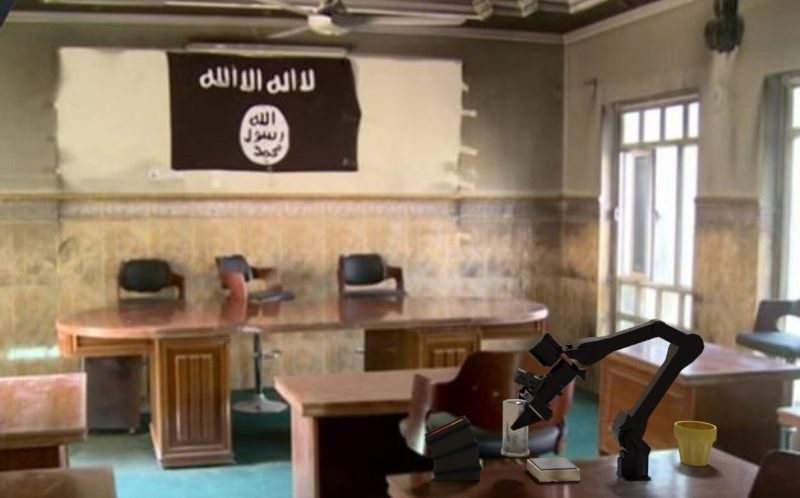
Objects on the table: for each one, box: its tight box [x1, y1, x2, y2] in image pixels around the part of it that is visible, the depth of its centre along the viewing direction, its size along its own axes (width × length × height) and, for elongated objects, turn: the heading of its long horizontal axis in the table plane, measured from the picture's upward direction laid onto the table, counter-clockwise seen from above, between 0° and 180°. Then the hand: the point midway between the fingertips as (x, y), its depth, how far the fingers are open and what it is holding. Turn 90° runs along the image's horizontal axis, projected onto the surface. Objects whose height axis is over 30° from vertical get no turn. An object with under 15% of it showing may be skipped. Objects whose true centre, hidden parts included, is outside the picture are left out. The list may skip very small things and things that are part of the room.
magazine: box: [424, 415, 483, 482], centre depth 216 cm, size 4×13×15 cm, turn 94°
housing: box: [500, 398, 531, 458], centre depth 218 cm, size 7×7×12 cm
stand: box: [526, 456, 581, 483], centre depth 220 cm, size 10×10×3 cm
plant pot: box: [673, 420, 718, 467], centre depth 232 cm, size 10×10×10 cm
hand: (509, 426), depth 218 cm, fingers closed on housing, 6 cm apart
